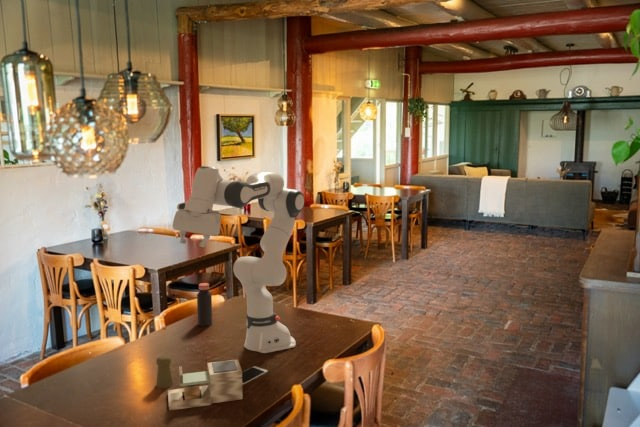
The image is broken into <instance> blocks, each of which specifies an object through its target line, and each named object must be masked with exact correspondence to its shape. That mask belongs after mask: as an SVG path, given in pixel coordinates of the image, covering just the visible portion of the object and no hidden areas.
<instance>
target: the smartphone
mask: <svg viewBox="0 0 640 427" xmlns="http://www.w3.org/2000/svg"><path fill="white" fill-rule="evenodd" d="M268 372H269V371H268V369H265V368H261V367H259V366H256V365H254V366H252V367H250V368H247V369H245V370H244V371H242V386H243V385H245V384H247V383H250V382H251V381H253V380H255V379H257V378H259V377H261V376H262V375H264V374H266V373H268Z"/></svg>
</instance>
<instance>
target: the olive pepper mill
mask: <svg viewBox="0 0 640 427" xmlns="http://www.w3.org/2000/svg"><path fill="white" fill-rule="evenodd" d="M171 362H172V358H171V356H170V355H168V354H167V355H166V354H162V355H159V356H158V357H157V358H156V363H155V364H156V365H157V375H156V383H155V384H156V388H158V389H168V388H171V387H172V386H173V384H174V381H173V380H174V379H173V375H172V370H171Z"/></svg>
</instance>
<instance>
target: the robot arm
mask: <svg viewBox="0 0 640 427" xmlns="http://www.w3.org/2000/svg"><path fill="white" fill-rule="evenodd" d="M219 170H220V169H219V168H218V167H216V166H208V165H207V166H204V165H202V166H199V167H198V168H197V170H196V172H195V174H194V177H193V181H192V185H191V190H192V191H191V194H190V196H189V199H188V200H186V201H184V202H181V203H178V204H177V205H176V209H177V211H176V212H175V214H174V217H173V220H172V228H173V230H174V231H179V233H178V234H179V237H180V241H179V244H183V245H186V243H187V241H188V240H187V239H186V234H187V233H194V234H200V235H203V236H202V237H203V238H202V240H201V241H199V245H198V247H200V248H206V245H207V242H208V241H209V240H210V238H211V236H212V237H218V236H219V235H220V231H221V220H222V219H221V218H222V214H221V213H220V211H219V210H214V209H213V207H214V205H216V206H217V205H218V206H225V207H232V208H236V209H237V208H238V209H242V208H244V207H246V206H247V205H248V204H249V203H250V202H252V201H255V200H257V202H258V206H259V208H260V209H262V210H263V211H266V212H273V213H274V214H273V217H272V218H271V220H270V222H269V224H268V225H267V227H266V229H265V232H264V234H263V235H262V236H261V239H260V241H259V242H260V243H259V245H260V248H261V250H262V252H263V256H262V257H257V256H249V255H248V256H240V257H237V259H236V260H235V262H234V263H233V268H232V270H233V274H234V276H235V277H236V278H237V279H238V280H239V282H240V284H241V285H242V287H243V290H244V293H245V296H246V308H247V309H246V310H247V311H246V312H247V313H246V315H245V316H246V317H245V318H246V319H245V324H246V336H245V341H244V344H243V347H244V348H245V349H246V350H248V351H253V352H258V353H261V354H267V353H273V352H277V351H283V350H287V349H291V348H295V347H296V345H297V344H296V340H295V338H294V337H293V336H291V332H290V330H289V328H288V327H287V326H286V325H284V324H283V323H281V322H280V320H281V317H280V316H279V315H278V314H277V313H275V312H274V310H273V309H274V304H273V303H274V302H273V299H274V297H273V295H272V294H271V292H269V290H267V287H266V286H268V287H276V286H277V287H278V286H281V285H282V284H283V283H284V282H285V281H286V279H287V274H288V273H287V268H286V266H285V264H284V262H283V261H284V260H283V255H284V252H285V250H286V247H287V245H288V242H289V241H290V238H291V236H292V233H293V231H294V228H295V224H296V219H295V218H297V217H298V216H299V214H300V213H301V212H302V210H303V209H304V207H305V200H306V198H305V195H304V194H303V192H302V191H300V190H298V189H291V188H287V187H284V186H285V180H284V178H283V177H282V175H281V174H280V173H278V172H274V171H261V172H255V173H253V174H251V175H249V176H248V177H247V178H246V181H244V180H236V181H235V180H225V179H224V178H223V177H222V176H221V174H220V172H219Z"/></svg>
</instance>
